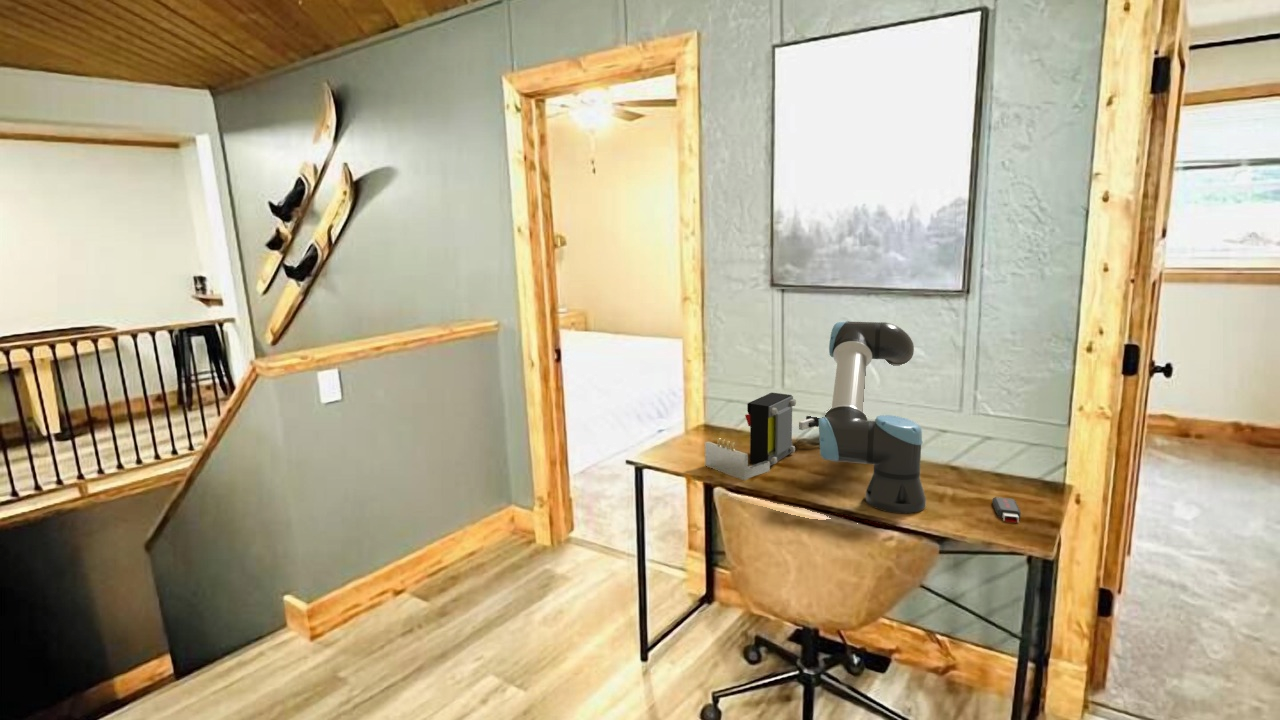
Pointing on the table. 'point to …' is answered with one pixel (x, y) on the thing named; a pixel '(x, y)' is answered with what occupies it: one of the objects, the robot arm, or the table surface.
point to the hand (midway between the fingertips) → (800, 426)
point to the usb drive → (1006, 509)
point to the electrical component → (770, 427)
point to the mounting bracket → (732, 461)
